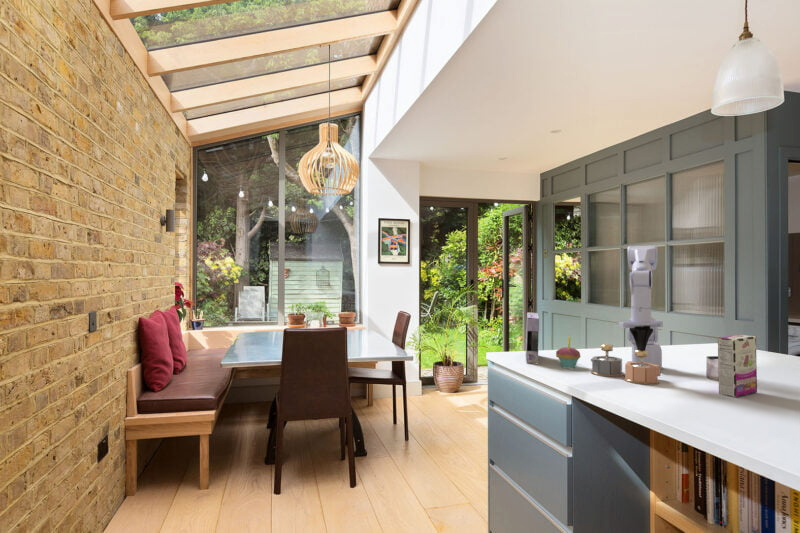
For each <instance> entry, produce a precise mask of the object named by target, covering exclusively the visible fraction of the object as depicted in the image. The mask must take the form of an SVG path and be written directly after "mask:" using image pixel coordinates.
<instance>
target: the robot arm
mask: <svg viewBox="0 0 800 533" xmlns="http://www.w3.org/2000/svg"><path fill="white" fill-rule="evenodd" d="M658 247H659V246H657V244H654V245H628V247H627V262H628V265H627V267H628V268H629V269H630V270H631V271H630V272H629V288H630V298H631V299H630V300H631V301H630V303H631V304H630V305H631V306H630V308H631V310H630V311H631V312H630V313H631V315H630V316H631V317H630V318H629V320H627V321H618V322H619V324H618V325H619V327H618V328H619V329H622V330H623V329H627V340H628V341H629V342H631V361H632V362H640V357H637V356H635V350H641V351H645V350H647V351H648V357H643V362H644V363H651V364H655V365H660V370H661V369H662V370H663V369H664V367H663V365H662V364H663V352H662V347H661V345H660V344H659V343H657V342H659V328H663V327H664V326H663V325H664V321H663V320H656V319H655V318H653V317H652V288H653V272H652V271H655V270H656V269H657V267H658V260H659V257H658V255H659V254H658V253H659V252H658V251H659V250H658Z"/></svg>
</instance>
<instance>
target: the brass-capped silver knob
mask: <svg viewBox="0 0 800 533" xmlns="http://www.w3.org/2000/svg"><path fill="white" fill-rule="evenodd" d="M601 351H603V352H605V356H606V358H599V359H600V360H615V359H613V358H608V356H609V352H613V351H614V347H613V344H607V343H603V344H601Z"/></svg>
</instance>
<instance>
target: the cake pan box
mask: <svg viewBox="0 0 800 533" xmlns="http://www.w3.org/2000/svg"><path fill="white" fill-rule="evenodd" d="M525 324H526V326H525V327H526V328H525V329H526V330H525V363H526V362H527V363H526V364H531V363H538V364H539V332H540V317H539V314H538V313H537V312H526V323H525Z"/></svg>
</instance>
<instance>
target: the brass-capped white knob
mask: <svg viewBox="0 0 800 533" xmlns="http://www.w3.org/2000/svg"><path fill="white" fill-rule="evenodd" d="M635 356H637V357H640V364H633V366H638V367H650V365H646V364H643V357H648V351H647V350H645V351H641V350H635Z"/></svg>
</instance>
